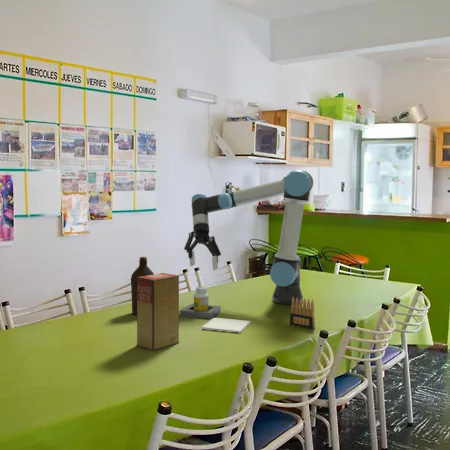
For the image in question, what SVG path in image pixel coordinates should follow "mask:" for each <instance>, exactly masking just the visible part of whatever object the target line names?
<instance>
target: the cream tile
mask: <svg viewBox="0 0 450 450" xmlns="http://www.w3.org/2000/svg"><path fill="white" fill-rule="evenodd" d="M251 322H252V321H251V320H241V319H233V318H231V319H230V318H221V317H213V318H211V319H209V321H208V322H206V323H205V324H203V325H202V326H201V330H202V329H205V330H204V331H211V330H218V331H217V332H221V331H230V332H238V333H237V334H241V333H242V332H243V331H245V329H246V328H248V327H249V326H250V325H251V324H252V323H251ZM250 323H251V324H250ZM249 324H250V325H249ZM248 325H249V326H248ZM247 326H248V327H247ZM242 330H243V331H242ZM241 331H242V332H241ZM230 332H229V333H230ZM240 332H241V333H240Z"/></svg>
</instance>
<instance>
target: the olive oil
mask: <svg viewBox="0 0 450 450" xmlns="http://www.w3.org/2000/svg"><path fill="white" fill-rule="evenodd" d="M138 263H139V264H138V265H139V266H138V267H136V268H135V270H134V271H133V272H132V274H131V277H130V285H131V286H130V287H131V288H130V289H131V291H130V292H131V313H132V315H134V316H137V277H142V276H148V275H154V274H155V273H154V272H153V270H152V269H151V268H150V267H148V257H147V256H139V261H138Z"/></svg>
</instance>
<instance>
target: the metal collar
mask: <svg viewBox="0 0 450 450" xmlns="http://www.w3.org/2000/svg"><path fill="white" fill-rule="evenodd" d="M179 310H180V311H179V313H180V314H179V317H189V318H196V319H206V318H207V319H209V320H212V319H213V318H215V316H217V315H218V314H220V313H221V312H222V307H221V305H212V304H211V305H210V304H208V311H198V310H194V303H191V304H189V305H187V306H185V307H184V308H182V309H179ZM219 312H220V313H219ZM216 314H217V315H216ZM212 317H213V318H212Z"/></svg>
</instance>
